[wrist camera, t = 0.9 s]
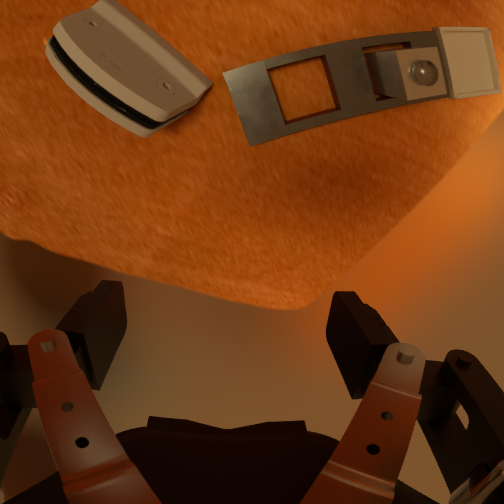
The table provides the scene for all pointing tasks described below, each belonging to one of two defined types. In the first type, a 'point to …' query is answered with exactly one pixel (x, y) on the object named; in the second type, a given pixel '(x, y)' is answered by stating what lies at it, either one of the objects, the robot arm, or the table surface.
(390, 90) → the grey rectangular block
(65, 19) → the beige device enclosure
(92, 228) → the table surface
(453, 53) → the parts tray
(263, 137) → the rack rail
